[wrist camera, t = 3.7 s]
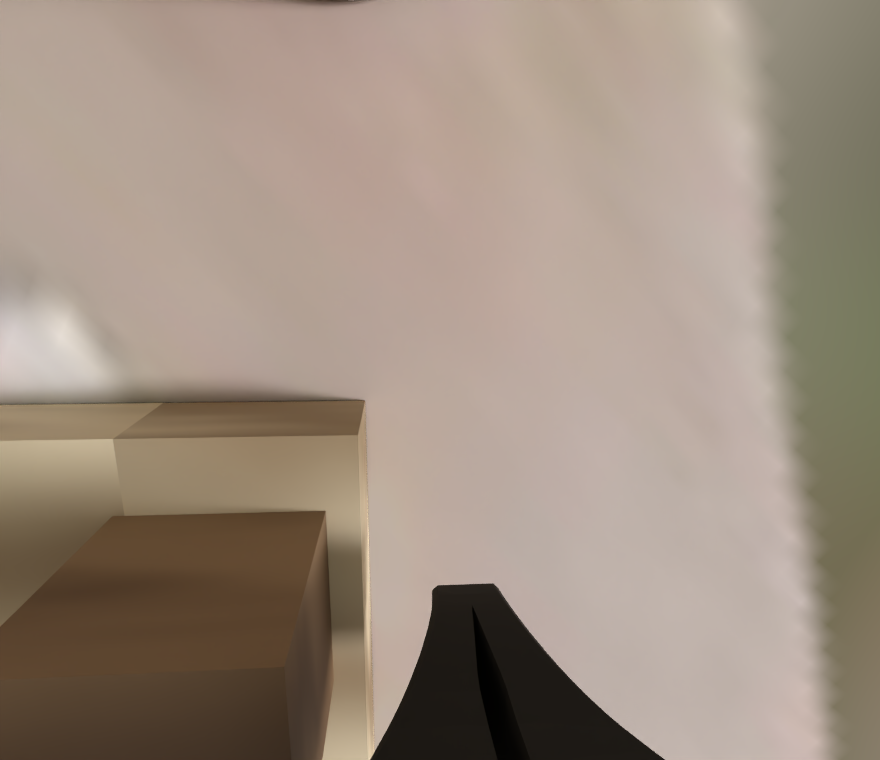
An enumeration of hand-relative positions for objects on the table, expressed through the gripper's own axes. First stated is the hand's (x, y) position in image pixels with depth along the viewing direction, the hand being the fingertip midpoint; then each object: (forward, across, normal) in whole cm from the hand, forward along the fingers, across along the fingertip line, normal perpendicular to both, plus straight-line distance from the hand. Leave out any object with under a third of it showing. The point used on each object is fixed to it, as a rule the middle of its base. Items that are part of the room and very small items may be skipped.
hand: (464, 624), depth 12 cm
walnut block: (+1, +5, 0) cm, 5 cm away
